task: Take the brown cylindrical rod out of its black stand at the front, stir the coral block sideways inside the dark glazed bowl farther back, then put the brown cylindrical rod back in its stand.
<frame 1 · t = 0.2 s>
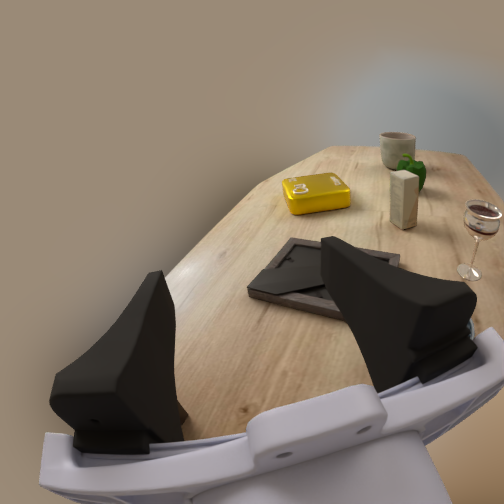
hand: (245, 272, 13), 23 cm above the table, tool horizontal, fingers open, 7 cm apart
bell pepper: (411, 190, 71), on the table
planter: (398, 167, 87), on the table
wineglass: (469, 272, 40), on the table
box: (402, 223, 57), on the table
element tile: (315, 200, 73), on the table
picture frame: (329, 280, 47), on the table
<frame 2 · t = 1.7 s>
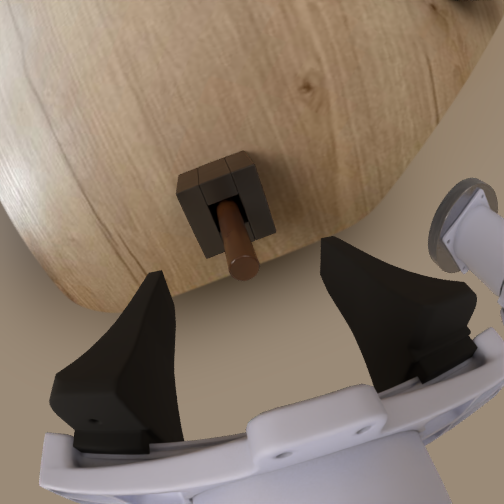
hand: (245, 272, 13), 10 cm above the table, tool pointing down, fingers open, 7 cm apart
brown cylindrical rod: (230, 220, 17), in the stand
stand: (222, 192, 22), on the table
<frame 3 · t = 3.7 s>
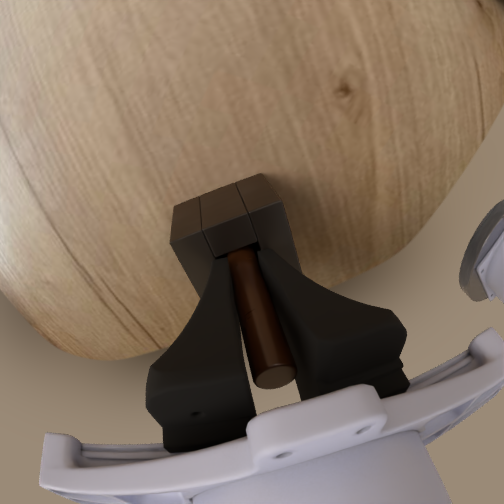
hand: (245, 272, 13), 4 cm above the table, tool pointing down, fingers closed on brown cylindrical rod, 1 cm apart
brown cylindrical rod: (247, 280, 13), in the stand, touching gripper
stand: (232, 227, 17), on the table
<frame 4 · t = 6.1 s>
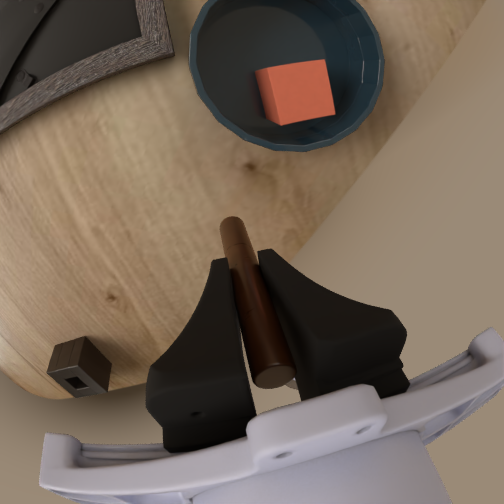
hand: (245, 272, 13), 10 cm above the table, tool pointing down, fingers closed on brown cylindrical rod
brown cylindrical rod: (247, 280, 12), point 10 cm above the table, touching gripper
bowl: (275, 61, 17), on the table
picture frame: (24, 22, 11), on the table
block: (285, 90, 17), point 1 cm above the table, touching bowl
stand: (82, 354, 27), on the table
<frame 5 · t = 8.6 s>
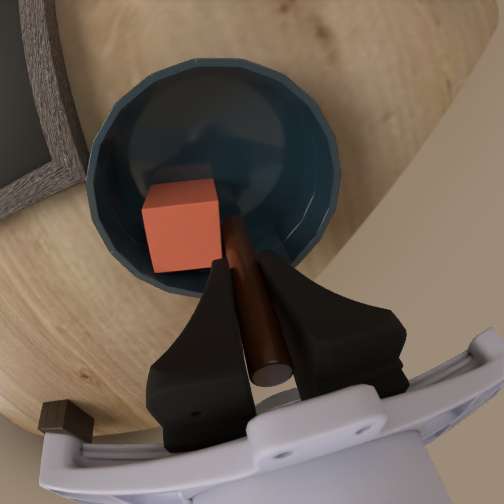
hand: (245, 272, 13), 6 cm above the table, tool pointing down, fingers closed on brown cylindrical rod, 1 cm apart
brown cylindrical rod: (246, 278, 13), point 6 cm above the table, touching gripper
bowl: (210, 166, 16), on the table
block: (184, 209, 17), point 1 cm above the table, touching bowl
stand: (68, 411, 27), on the table
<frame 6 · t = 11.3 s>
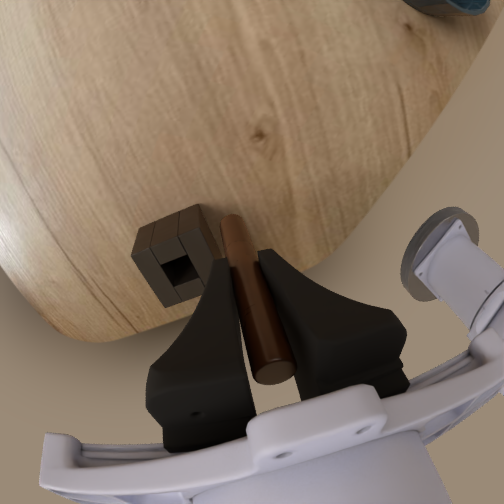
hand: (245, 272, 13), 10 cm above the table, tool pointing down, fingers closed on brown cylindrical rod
brown cylindrical rod: (247, 276, 12), point 10 cm above the table, touching gripper
stand: (181, 242, 23), on the table
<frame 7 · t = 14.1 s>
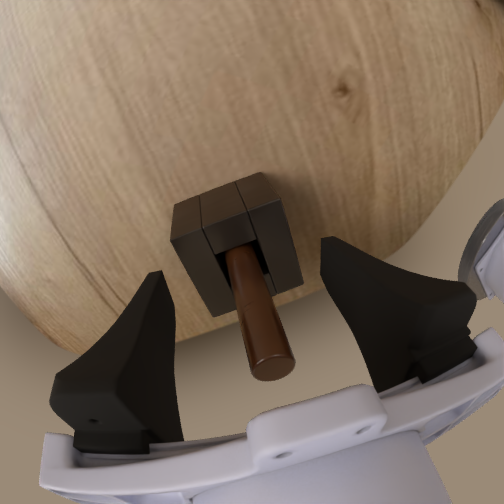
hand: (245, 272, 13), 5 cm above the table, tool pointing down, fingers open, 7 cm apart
brown cylindrical rod: (245, 274, 13), in the stand
stand: (231, 225, 17), on the table
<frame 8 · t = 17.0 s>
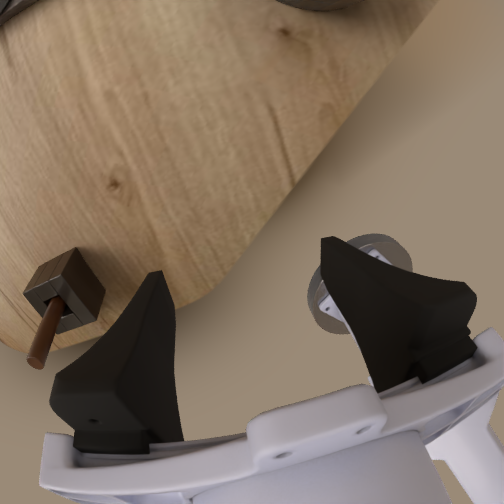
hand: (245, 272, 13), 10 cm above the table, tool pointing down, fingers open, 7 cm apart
brown cylindrical rod: (53, 314, 19), in the stand
stand: (71, 278, 23), on the table
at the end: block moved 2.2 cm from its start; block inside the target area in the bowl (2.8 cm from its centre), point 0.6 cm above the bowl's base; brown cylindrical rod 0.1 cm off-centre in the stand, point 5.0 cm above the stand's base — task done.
